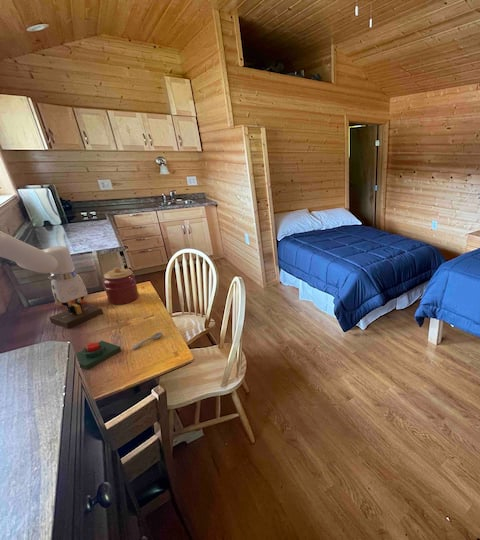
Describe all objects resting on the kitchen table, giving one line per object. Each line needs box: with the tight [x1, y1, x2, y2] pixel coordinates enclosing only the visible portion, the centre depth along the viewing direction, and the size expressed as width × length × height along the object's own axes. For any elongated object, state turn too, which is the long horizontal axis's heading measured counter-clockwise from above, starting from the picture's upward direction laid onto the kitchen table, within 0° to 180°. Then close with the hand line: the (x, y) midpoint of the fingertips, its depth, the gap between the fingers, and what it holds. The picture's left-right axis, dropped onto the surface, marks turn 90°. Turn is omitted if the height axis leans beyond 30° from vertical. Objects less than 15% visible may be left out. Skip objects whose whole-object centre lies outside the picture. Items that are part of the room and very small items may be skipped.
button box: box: [75, 340, 122, 371], centre depth 114 cm, size 12×10×4 cm
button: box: [85, 342, 100, 352], centre depth 113 cm, size 4×4×2 cm
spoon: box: [130, 332, 163, 351], centre depth 125 cm, size 3×12×2 cm, turn 153°
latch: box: [71, 302, 82, 315], centre depth 135 cm, size 6×2×4 cm, turn 71°
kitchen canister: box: [102, 266, 140, 305], centre depth 152 cm, size 13×13×18 cm
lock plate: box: [48, 303, 104, 330], centre depth 136 cm, size 14×11×3 cm
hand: (76, 311), depth 135 cm, fingers closed on latch
